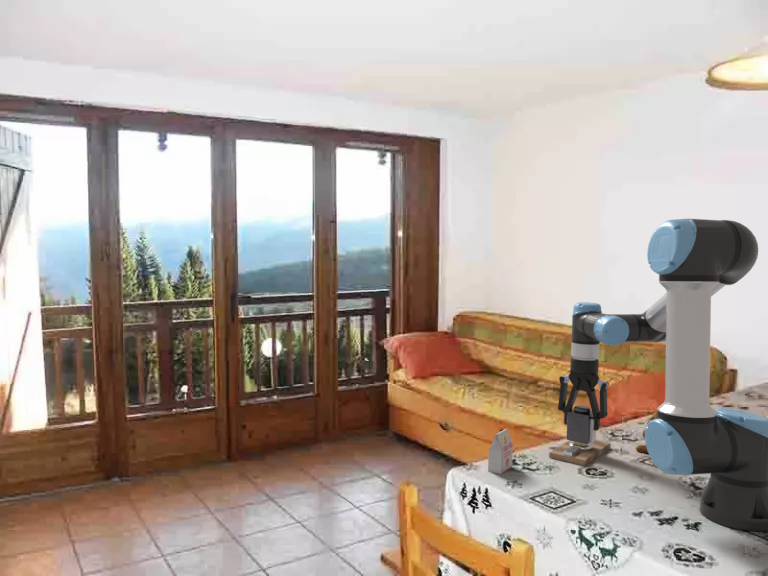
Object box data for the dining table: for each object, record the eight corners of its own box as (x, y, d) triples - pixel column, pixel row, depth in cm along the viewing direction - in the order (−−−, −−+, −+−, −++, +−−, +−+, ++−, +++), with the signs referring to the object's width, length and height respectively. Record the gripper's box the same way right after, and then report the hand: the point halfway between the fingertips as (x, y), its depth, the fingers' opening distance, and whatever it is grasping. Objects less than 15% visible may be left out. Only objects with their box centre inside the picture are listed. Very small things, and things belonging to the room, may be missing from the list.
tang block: (584, 465, 174) (585, 443, 173) (549, 457, 180) (549, 436, 179) (610, 447, 189) (611, 427, 189) (577, 440, 195) (578, 421, 195)
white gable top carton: (487, 471, 168) (489, 433, 168) (499, 464, 174) (500, 427, 173) (501, 474, 166) (502, 435, 165) (512, 467, 172) (513, 429, 171)
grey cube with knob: (587, 444, 180) (588, 411, 179) (566, 439, 184) (567, 407, 183) (595, 439, 185) (596, 407, 184) (574, 434, 188) (576, 403, 188)
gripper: (623, 360, 179) (619, 442, 181) (558, 351, 191) (554, 429, 193) (614, 364, 174) (609, 449, 175) (547, 355, 185) (543, 434, 187)
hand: (581, 438), depth 184 cm, fingers closed on grey cube with knob, 6 cm apart
